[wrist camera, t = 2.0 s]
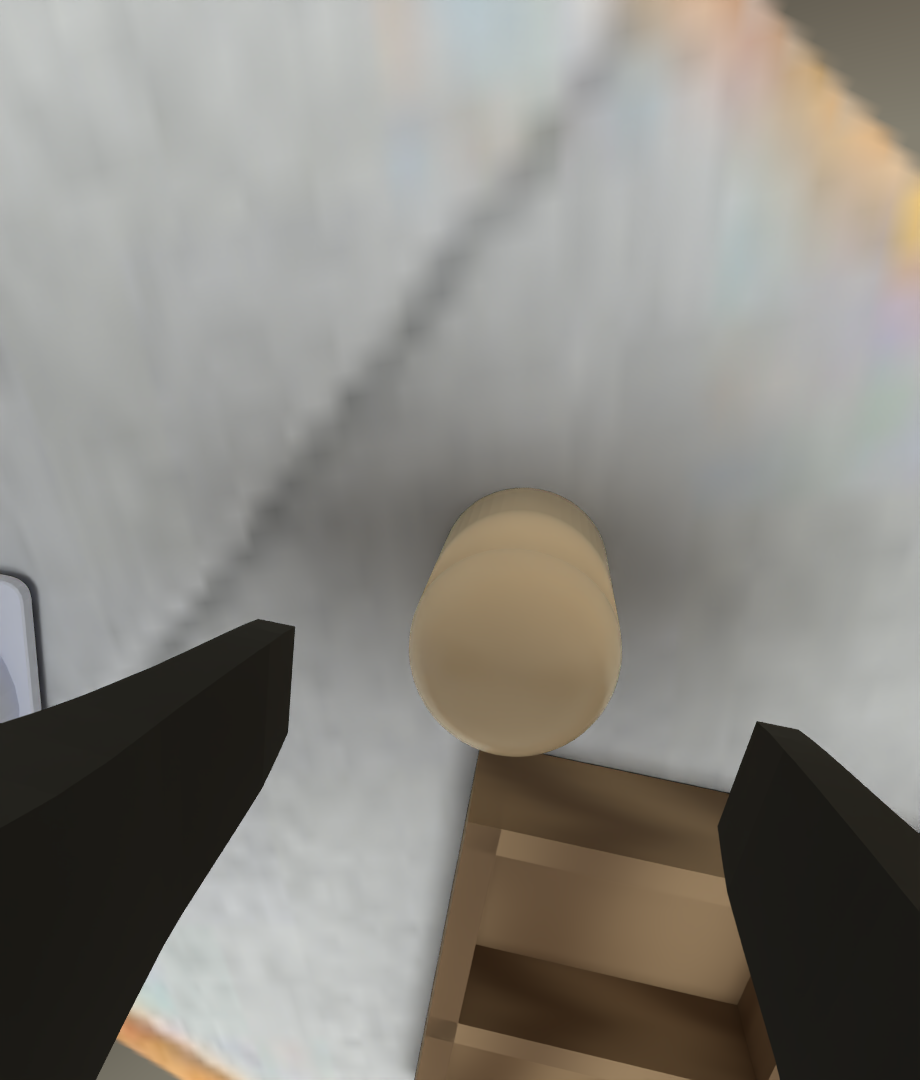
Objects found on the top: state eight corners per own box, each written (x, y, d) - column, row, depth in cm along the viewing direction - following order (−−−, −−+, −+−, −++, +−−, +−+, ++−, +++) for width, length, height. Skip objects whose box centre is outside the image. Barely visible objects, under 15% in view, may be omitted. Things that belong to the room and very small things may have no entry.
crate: (415, 1074, 24) (396, 1179, 21) (480, 741, 18) (467, 821, 16) (956, 1209, 22) (1013, 1339, 20) (1192, 891, 17) (1315, 1007, 14)
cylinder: (433, 622, 17) (375, 777, 12) (455, 474, 16) (402, 573, 10) (587, 652, 17) (601, 827, 12) (624, 504, 16) (661, 623, 10)
